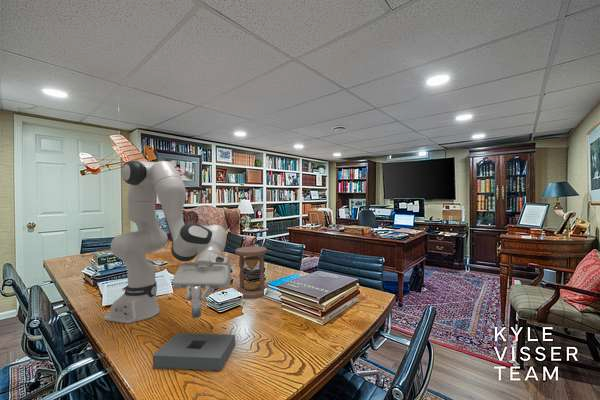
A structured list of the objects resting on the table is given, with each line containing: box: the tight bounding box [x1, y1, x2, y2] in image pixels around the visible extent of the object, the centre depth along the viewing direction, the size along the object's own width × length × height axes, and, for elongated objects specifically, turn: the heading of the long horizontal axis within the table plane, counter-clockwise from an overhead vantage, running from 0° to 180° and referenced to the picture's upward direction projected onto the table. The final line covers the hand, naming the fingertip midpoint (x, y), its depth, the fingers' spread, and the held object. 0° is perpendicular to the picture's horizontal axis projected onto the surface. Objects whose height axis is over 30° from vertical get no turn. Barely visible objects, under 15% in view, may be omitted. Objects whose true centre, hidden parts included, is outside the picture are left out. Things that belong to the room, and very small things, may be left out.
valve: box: [205, 288, 228, 300], centre depth 136 cm, size 7×7×12 cm
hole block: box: [152, 332, 236, 372], centre depth 89 cm, size 22×14×4 cm, turn 85°
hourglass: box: [235, 245, 268, 300], centre depth 149 cm, size 18×18×25 cm
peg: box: [190, 285, 202, 319], centre depth 89 cm, size 3×3×10 cm
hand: (195, 299), depth 89 cm, fingers closed on peg, 3 cm apart
